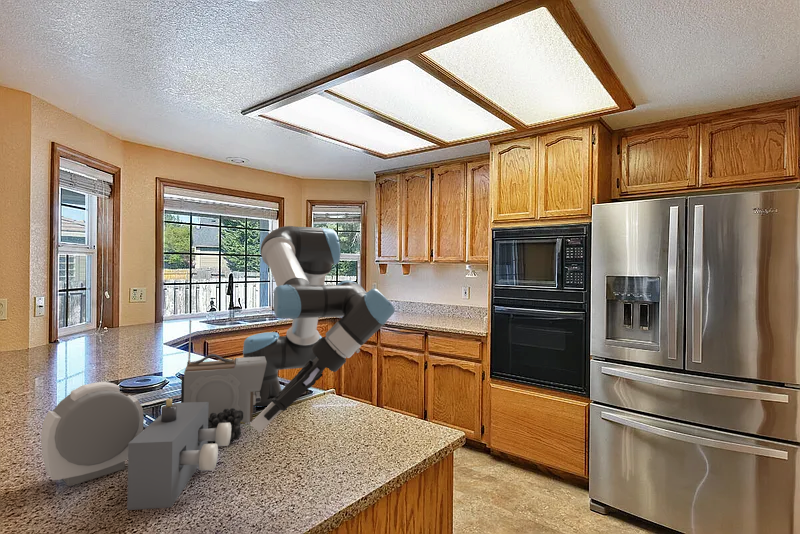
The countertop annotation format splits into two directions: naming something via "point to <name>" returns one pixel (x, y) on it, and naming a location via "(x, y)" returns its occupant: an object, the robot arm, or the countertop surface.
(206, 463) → the knob
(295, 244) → the robot arm
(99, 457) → the grey rounded slab
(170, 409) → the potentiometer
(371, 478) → the countertop surface
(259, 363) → the portable television
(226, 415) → the fruit
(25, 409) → the countertop surface
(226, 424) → the knob
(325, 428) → the countertop surface
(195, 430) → the block
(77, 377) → the countertop surface
